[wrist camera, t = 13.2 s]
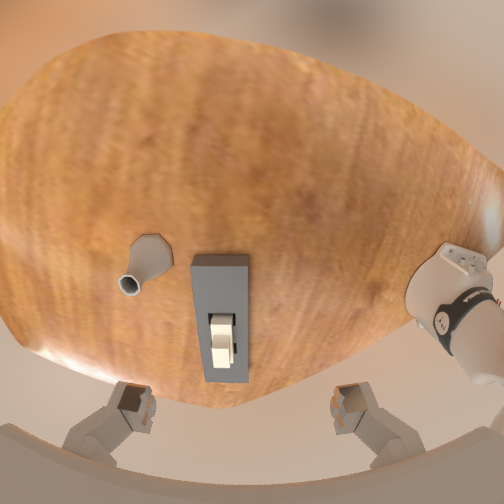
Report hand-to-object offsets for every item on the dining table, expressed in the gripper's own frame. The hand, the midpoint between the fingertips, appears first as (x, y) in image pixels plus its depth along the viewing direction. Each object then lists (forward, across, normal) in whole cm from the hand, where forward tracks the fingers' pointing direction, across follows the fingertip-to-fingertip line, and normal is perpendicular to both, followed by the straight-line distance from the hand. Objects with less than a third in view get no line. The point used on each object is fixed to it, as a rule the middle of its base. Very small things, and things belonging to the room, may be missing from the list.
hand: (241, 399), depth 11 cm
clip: (+31, +4, +18) cm, 36 cm away
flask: (+31, +15, +6) cm, 35 cm away
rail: (+31, +4, +18) cm, 36 cm away
